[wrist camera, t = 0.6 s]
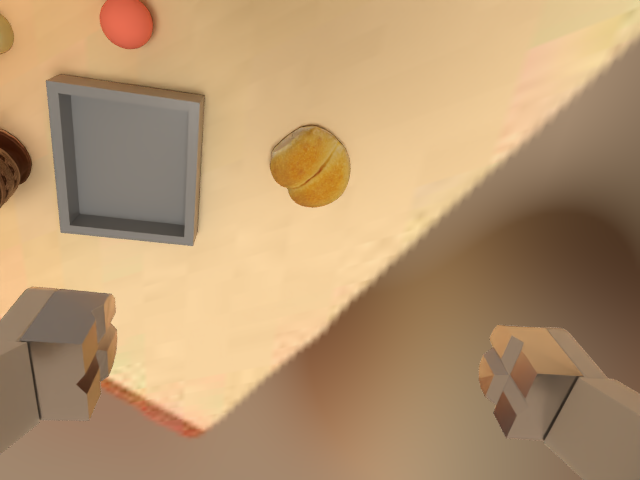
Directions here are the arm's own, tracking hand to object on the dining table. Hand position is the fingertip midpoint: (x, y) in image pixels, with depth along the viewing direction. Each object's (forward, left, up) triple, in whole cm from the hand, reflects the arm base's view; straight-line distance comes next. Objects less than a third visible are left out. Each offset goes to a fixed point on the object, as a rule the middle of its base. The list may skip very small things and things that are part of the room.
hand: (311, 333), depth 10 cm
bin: (+13, -15, -43) cm, 47 cm away
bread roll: (+11, +4, -44) cm, 45 cm away
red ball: (-1, -15, -41) cm, 44 cm away
